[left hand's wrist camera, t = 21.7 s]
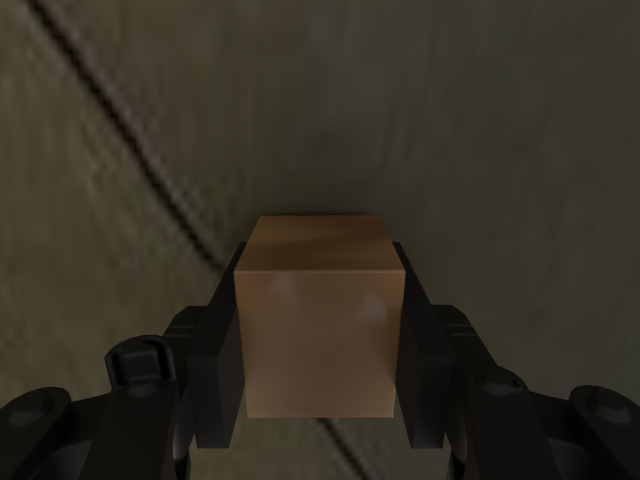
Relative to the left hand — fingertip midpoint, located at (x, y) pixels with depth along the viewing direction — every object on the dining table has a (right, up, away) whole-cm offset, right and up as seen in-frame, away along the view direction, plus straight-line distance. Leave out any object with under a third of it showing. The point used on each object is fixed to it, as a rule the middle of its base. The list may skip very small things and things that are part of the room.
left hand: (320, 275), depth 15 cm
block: (0, 0, 0) cm, 0 cm away
